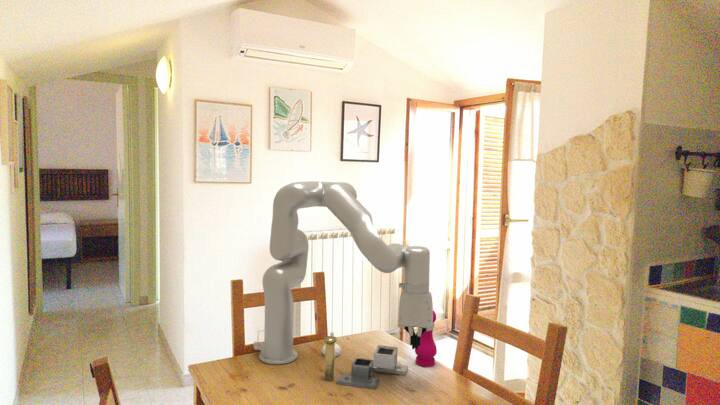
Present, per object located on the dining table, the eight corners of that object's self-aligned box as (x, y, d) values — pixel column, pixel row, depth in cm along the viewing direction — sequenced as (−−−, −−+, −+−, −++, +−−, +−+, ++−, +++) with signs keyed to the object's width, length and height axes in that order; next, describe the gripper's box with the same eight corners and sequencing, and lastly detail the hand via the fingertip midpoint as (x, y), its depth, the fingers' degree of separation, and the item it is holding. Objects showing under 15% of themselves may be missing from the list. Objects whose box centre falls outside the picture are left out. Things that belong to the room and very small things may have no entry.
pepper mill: (435, 368, 159) (438, 308, 157) (413, 366, 160) (415, 306, 159) (436, 360, 166) (439, 302, 164) (415, 357, 167) (417, 300, 166)
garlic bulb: (330, 360, 164) (332, 338, 163) (317, 353, 168) (320, 331, 167) (343, 355, 169) (345, 333, 167) (331, 349, 173) (333, 327, 172)
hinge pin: (321, 381, 147) (322, 339, 146) (325, 375, 151) (326, 335, 150) (333, 382, 146) (334, 341, 145) (336, 377, 150) (338, 336, 149)
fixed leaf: (336, 383, 146) (336, 370, 145) (346, 368, 157) (346, 356, 156) (376, 389, 143) (376, 376, 143) (383, 373, 154) (383, 361, 154)
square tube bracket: (363, 378, 149) (364, 352, 149) (371, 364, 160) (371, 339, 160) (402, 384, 146) (403, 357, 146) (407, 368, 158) (408, 343, 157)
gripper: (389, 289, 145) (388, 349, 146) (440, 292, 141) (439, 354, 143) (393, 283, 152) (392, 341, 153) (442, 286, 149) (441, 345, 150)
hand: (415, 347), depth 148 cm, fingers closed
